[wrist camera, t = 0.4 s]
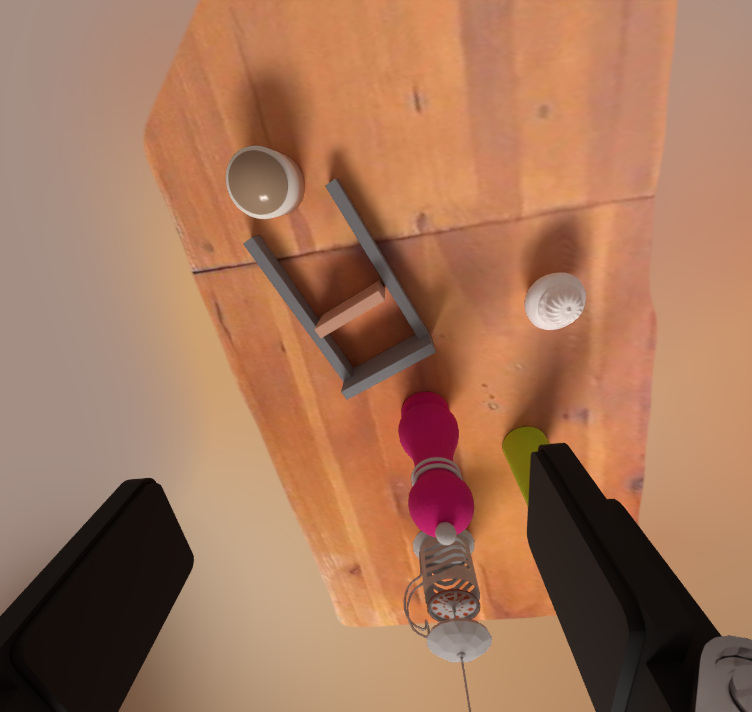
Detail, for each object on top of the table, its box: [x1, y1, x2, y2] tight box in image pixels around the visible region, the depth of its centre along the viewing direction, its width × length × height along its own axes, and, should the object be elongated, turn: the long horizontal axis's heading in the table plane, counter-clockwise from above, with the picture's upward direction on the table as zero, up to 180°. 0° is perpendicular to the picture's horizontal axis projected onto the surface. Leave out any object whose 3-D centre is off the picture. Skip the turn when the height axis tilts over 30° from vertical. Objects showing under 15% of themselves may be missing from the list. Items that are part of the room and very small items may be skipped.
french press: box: [404, 529, 492, 712], centre depth 47 cm, size 10×12×25 cm
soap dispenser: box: [502, 427, 550, 505], centre depth 42 cm, size 6×7×20 cm
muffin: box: [524, 273, 586, 330], centre depth 39 cm, size 6×6×7 cm
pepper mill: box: [398, 392, 474, 545], centre depth 40 cm, size 7×7×20 cm
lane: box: [244, 179, 436, 400], centre depth 40 cm, size 20×12×5 cm, turn 32°
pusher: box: [314, 280, 385, 338], centre depth 41 cm, size 1×8×5 cm, turn 122°
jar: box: [226, 146, 305, 219], centre depth 36 cm, size 6×6×6 cm
